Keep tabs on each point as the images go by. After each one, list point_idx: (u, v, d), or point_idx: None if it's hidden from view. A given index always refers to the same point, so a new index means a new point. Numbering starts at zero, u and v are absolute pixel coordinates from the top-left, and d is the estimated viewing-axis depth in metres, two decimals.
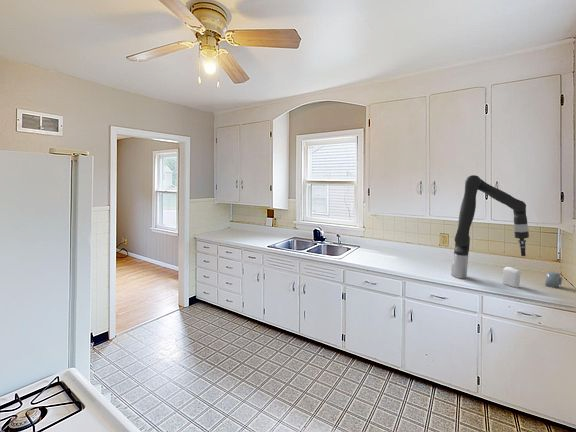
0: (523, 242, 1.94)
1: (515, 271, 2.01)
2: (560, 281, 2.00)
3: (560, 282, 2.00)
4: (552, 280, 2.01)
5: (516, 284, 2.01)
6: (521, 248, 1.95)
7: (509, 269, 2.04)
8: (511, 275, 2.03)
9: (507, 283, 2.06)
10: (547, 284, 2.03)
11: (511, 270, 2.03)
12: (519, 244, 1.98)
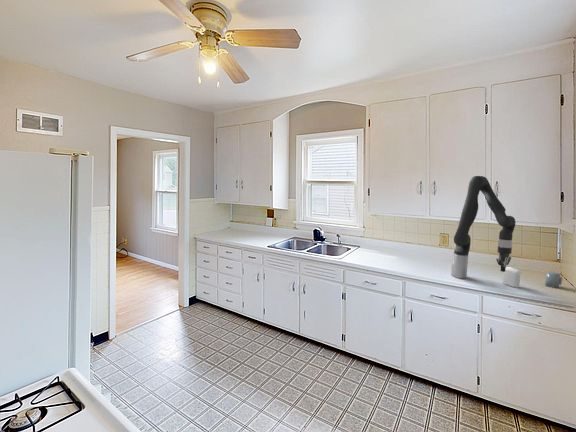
0: (499, 260, 1.96)
1: (515, 271, 2.01)
2: (560, 281, 2.00)
3: (560, 282, 2.00)
4: (552, 280, 2.01)
5: (516, 284, 2.01)
6: (499, 263, 1.99)
7: (509, 269, 2.04)
8: (511, 275, 2.03)
9: (507, 283, 2.06)
10: (547, 284, 2.03)
11: (511, 270, 2.03)
12: None
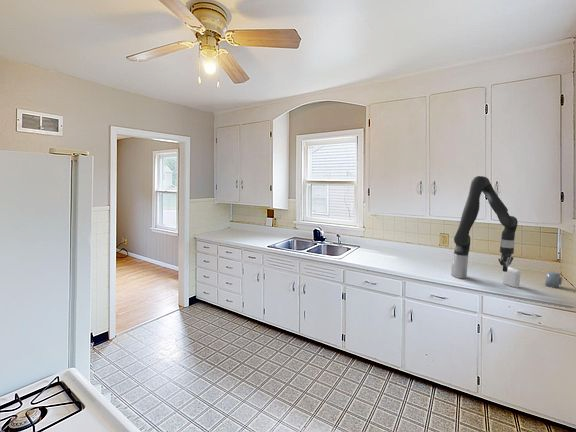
0: (501, 260, 1.97)
1: (515, 271, 2.01)
2: (560, 281, 2.00)
3: (560, 282, 2.00)
4: (552, 280, 2.01)
5: (516, 284, 2.01)
6: None
7: (509, 269, 2.04)
8: (511, 275, 2.03)
9: (507, 283, 2.06)
10: (547, 284, 2.03)
11: (511, 270, 2.03)
12: None
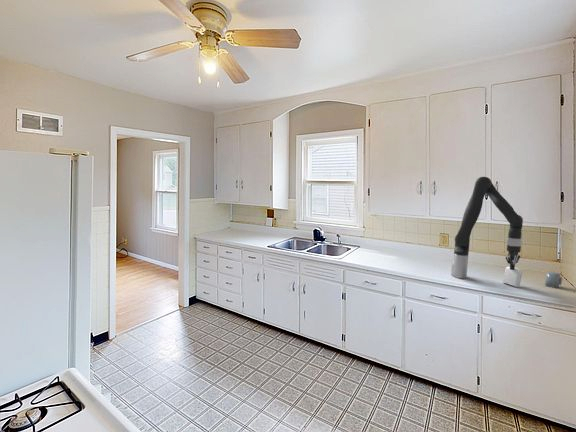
0: (508, 259, 2.00)
1: (518, 270, 2.01)
2: (560, 281, 2.00)
3: (560, 282, 2.00)
4: (552, 280, 2.01)
5: (517, 283, 2.01)
6: None
7: None
8: (513, 274, 2.03)
9: (507, 282, 2.06)
10: (547, 284, 2.03)
11: (514, 269, 2.03)
12: None
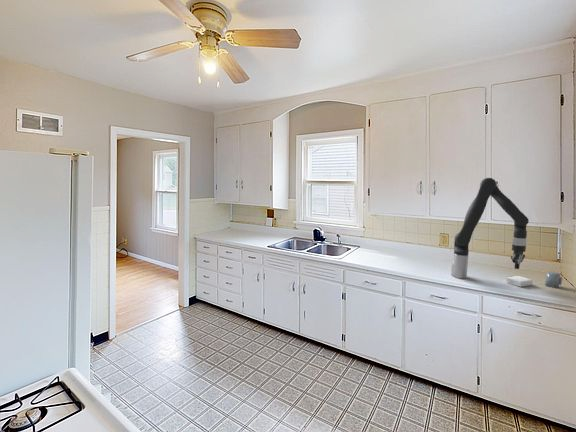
0: (513, 258, 2.03)
1: (530, 280, 2.05)
2: (560, 281, 2.00)
3: (560, 282, 2.00)
4: (552, 280, 2.01)
5: (523, 282, 2.02)
6: None
7: None
8: (524, 278, 2.06)
9: (514, 278, 2.07)
10: (547, 284, 2.03)
11: None
12: None
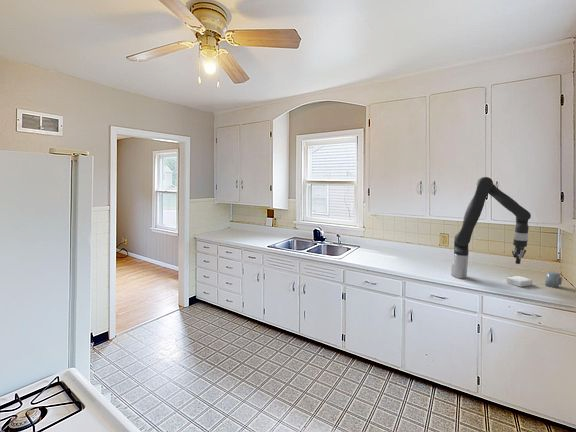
0: (515, 253, 2.03)
1: (530, 280, 2.05)
2: (560, 281, 2.00)
3: (560, 282, 2.00)
4: (552, 280, 2.01)
5: (523, 282, 2.02)
6: None
7: None
8: (524, 278, 2.06)
9: (514, 278, 2.07)
10: (547, 284, 2.03)
11: None
12: None
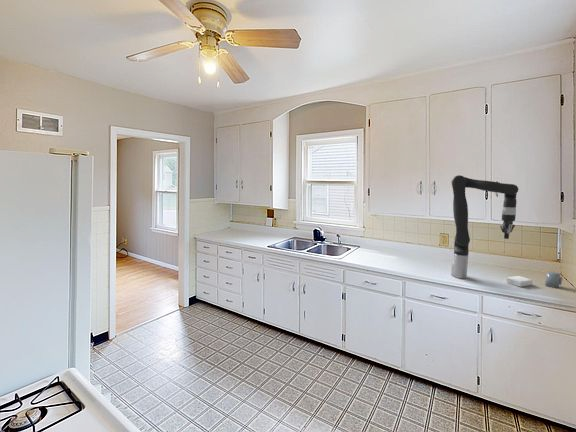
0: (503, 227, 2.02)
1: (530, 280, 2.05)
2: (560, 281, 2.00)
3: (560, 282, 2.00)
4: (552, 280, 2.01)
5: (523, 282, 2.02)
6: (503, 230, 2.05)
7: None
8: (524, 278, 2.06)
9: (514, 278, 2.07)
10: (547, 284, 2.03)
11: None
12: None
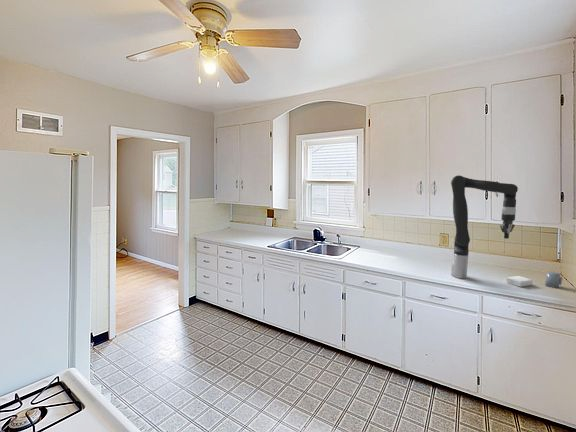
0: (503, 227, 2.02)
1: (530, 280, 2.05)
2: (560, 281, 2.00)
3: (560, 282, 2.00)
4: (552, 280, 2.01)
5: (523, 282, 2.02)
6: (503, 230, 2.05)
7: None
8: (524, 278, 2.06)
9: (514, 278, 2.07)
10: (547, 284, 2.03)
11: None
12: None
